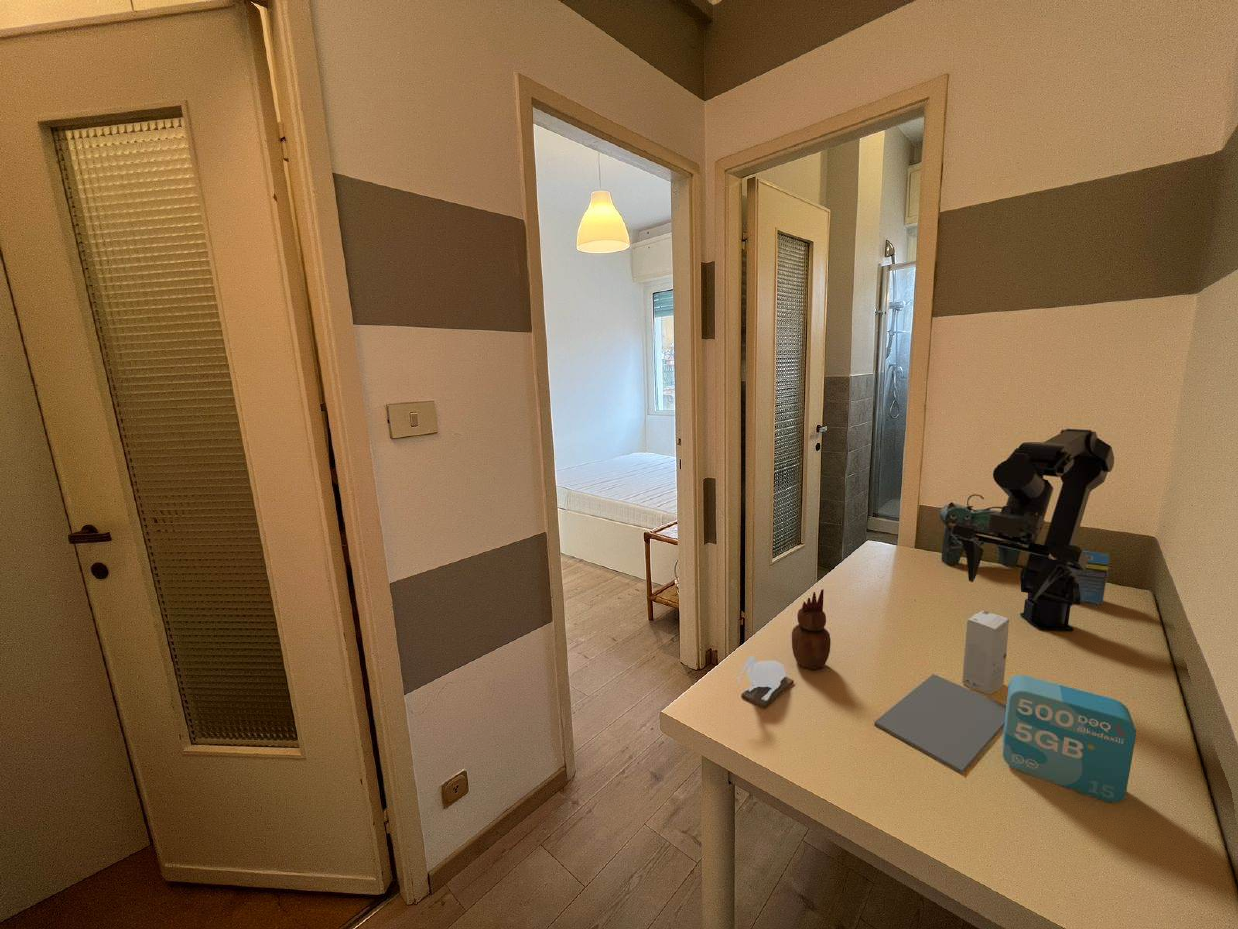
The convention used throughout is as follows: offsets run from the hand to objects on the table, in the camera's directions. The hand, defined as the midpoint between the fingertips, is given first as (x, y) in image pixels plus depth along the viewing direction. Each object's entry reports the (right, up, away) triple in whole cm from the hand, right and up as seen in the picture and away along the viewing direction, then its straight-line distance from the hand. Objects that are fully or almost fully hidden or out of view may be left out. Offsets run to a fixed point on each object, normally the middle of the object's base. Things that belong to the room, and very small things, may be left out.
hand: (1000, 590), depth 87 cm
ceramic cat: (+31, -5, +49) cm, 58 cm away
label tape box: (+39, -9, +27) cm, 48 cm away
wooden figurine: (-32, -16, +6) cm, 36 cm away
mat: (-16, -18, -10) cm, 26 cm away
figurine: (-43, -18, -3) cm, 47 cm away
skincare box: (-4, -16, -2) cm, 17 cm away
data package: (-9, -20, -21) cm, 30 cm away
